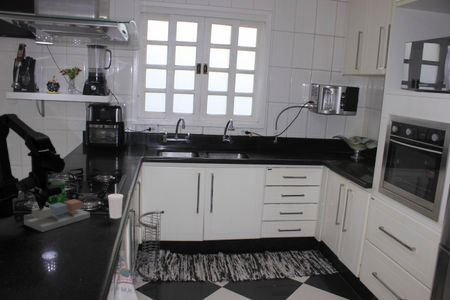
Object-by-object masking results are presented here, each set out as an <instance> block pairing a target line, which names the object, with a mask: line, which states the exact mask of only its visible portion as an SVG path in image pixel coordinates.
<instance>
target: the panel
mask: <svg viewBox="0 0 450 300" xmlns="http://www.w3.org/2000/svg"><path fill="white" fill-rule="evenodd" d="M89 218H91V212H89V211H86V210H83V209H78V210H75V211H70V210H67V212H66V213H62V214H59V215H54V214H51V216H50V217H46V218H43V219H37V218H34V217H32V213H29V214H24V215H23V225H26V226H27V227H29V228H32V229H35V230H37V231H39V232H40V233H41V232H42V233H43V232H47V231H51V230H53V229H56V228H59V227H62V226H63V227H64V226H66V225H70V224H74V223H76V222H79V221H83V220H86V219H89Z"/></svg>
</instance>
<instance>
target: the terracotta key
mask: <svg viewBox="0 0 450 300" xmlns="http://www.w3.org/2000/svg"><path fill="white" fill-rule="evenodd" d="M64 204H66V205H67V210H70V211H75V210H78V209H80V210H83V201H81V200H80V199H79V200H78V199H75V198H74V199H70V200H66V201H65V202H64Z"/></svg>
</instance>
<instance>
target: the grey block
mask: <svg viewBox="0 0 450 300" xmlns="http://www.w3.org/2000/svg"><path fill="white" fill-rule="evenodd" d="M31 214H32V217H34V218H37V219H43V218H46V217H50V216H51V209H50V208H49V207H46V206H44V208H43V209H39V207H33V208H31Z"/></svg>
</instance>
